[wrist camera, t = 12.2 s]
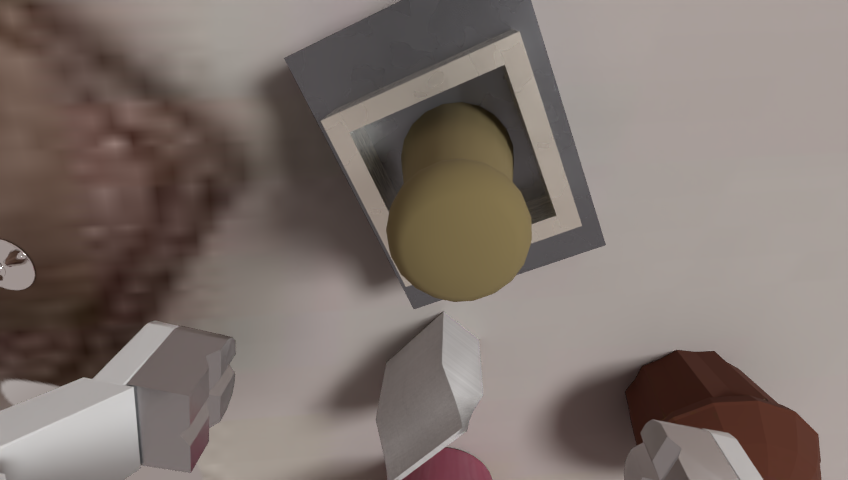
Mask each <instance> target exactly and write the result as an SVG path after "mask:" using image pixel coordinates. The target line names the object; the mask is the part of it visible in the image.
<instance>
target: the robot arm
mask: <svg viewBox="0 0 848 480" xmlns="http://www.w3.org/2000/svg"><path fill="white" fill-rule="evenodd" d="M235 354H236V351H235V339H234V338H233V337H230V336H225V335H221V334H216V333H212V332H207V331H203V330H198V329H194V328H189V327H184V326H177V325H173V324H168V323H164V322H159V321H152V322H149V323H147V324H146V325H145V326H144V327H143V328H142V329H141V330H140V331H139V332H138V333H137V334H136V335H135V336H134V337H133V338H132V339H131V340H130V341H129V342H128V343H127V344H126V345H125V346H124V347H123V348H122V349H121V350H120V351H119V352H118V353H117V354H116V355H115V356H114V357H113V358H112V359H111V360H110V361H109V362H108V363H107V364H106V365H105V366H104V367H103V369H102V370H101V371H100V372H99V373H98V374H97V375H96V376H95V377H94V378H93V379H89V378H84V377H83V378H81V379H78V380H76V381H73V382H71V383H68V384H66V385H63V386H61V387H58V388H56V389H54V390H51V391H49V392H46V393H44V394H41V395H39V396H36V397H34V398H31V399H29V400H26V401H24V402H21V403H19V404H16V405H14V406H11V407H9V408H6V409H4V410H1V411H0V480H125V479H126V478H127V477H129V476H130V475H132V474H133V473H135V472H136V471H137V470H139V469H140V468H141V465H143V466H149V467H156V468H162V469H169V470H175V471H182V472H188V473H191V472H192V470H193V468H194V466H195V465H196V463H197V461H198V459H199V458H200V456H201V454H202V452H203V451H204V449H205V447H206V445H207V444H208V442H209V428H210V427H212V426H214V425H215V424H217V423H219V422H220V421H221V419H222V417H223V415H224V413H225V411H226V410H227V407H228V404H229V401H230V399H231V396H232V392H233V387H234V381H235V372H234V370H233V369H232V367H231V366H230V365H229V364H230V362H231V361H232V359H233V357H234V356H235ZM641 436H642V439H643V443H641V444H639V445H637V446H635V447H634V448H632V449H631V450H630V452H629V454H628V456H627V458H626V460H625V468H624V480H763V478H762V477H761V475H760V474H759V472H758V471H757V469H756V468H755V466H754V465H753V463H752V462H751V460H750V459H749V457H748V456H747V454H746V453H745V451H744V450H743V448H742V447H741V445H740V444H739V442H738V441H737V439H736V438H735V437H733V436H732V435H731V434H729V433H726V432H721V431H715V430H709V429H704V428H703V429H700V428H696V427H691V426H685V425H680V424H675V423H669V422H664V421H659V420H654V419H652V420H650V421H649V422H647V423H646V424H645V426H644V427H643V429H642V431H641Z"/></svg>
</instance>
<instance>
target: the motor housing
mask: <svg viewBox="0 0 848 480" xmlns="http://www.w3.org/2000/svg"><path fill="white" fill-rule="evenodd" d="M284 59H285V61H286V63H287V65H288V67H289V69H290V71H291V72H292V74H293V76H294V78H295V80H296V82H297V84H298V86H299V88H300V90H301V92H302V94H303V96H304V98H305V100H306V101H307V103H308V105H309V107H310V109H311V111H312V113H313V115H314V117H315V119H316V121H317V123H318V125H319V127H320V129H321V130H322V132H323V134H324V136H325V138H326V140H327V142H328V144H329V146H330V148H331V150H332V152H333V154H334V156H335V158H336V160H337V161H338V163H339V165H340V167H341V169H342V171H343V173H344V175H345V177H346V179H347V181H348V183H349V185H350V187H351V189H352V190H353V192H354V194H355V196H356V198H357V200H358V202H359V204H360V206H361V208H362V210H363V212H364V214H365V216H366V218H367V219H368V221H369V223H370V225H371V227H372V229H373V231H374V233H375V235H376V237H377V239H378V241H379V243H380V245H381V247H382V248H383V250H384V252H385V254H386V256H387V258H388V260H389V262H390V264H391V266H392V268H393V270H394V272H395V274H396V276H397V278H398V279H399V281H400V283H401V285H402V287H403V289H404V291H405V293H406V295H407V297H408V299H409V301H410V303H411V305H412V307H413V308H414V309H416V308H419V307H422V306H425V305H428V304H431V303H434V302H437V301H440V300H443V299H438V298H434V297H432V296H430V295H428V294H426V293H424V292H422V291H420V290H419V289H417V288H415V287H414V286H413V285H412V284H411V283H410V282H409V281H408V280H406V279H405V278H404V277H403V276H402V275H401V274H400V272H399V270H398V268H397V266H396V265H395V263H394V261H393V259H392V257H391V254H390V251H389V245H388V239H387V233H386V227H387V222H388V216H389V211H390V207H391V205H392V203H393V201H394V199H395V197H396V195H397V194H398V192H399V190H400V188H401V187H402V185H403V184H404V182H403V172H402V162H401V154H402V149H403V143H404V139H405V137H406V135H407V134H408V132H409V130H410V128H411V126H412V124H413V123H414V122H416V121H417V120H418V119H419V118H420V117H421V116H422V115H423V114H424V113H425V112H427V111H429V110H431V109H433V108H435V107H437V106H440V105H442V104H448V103H457V102H464V103H468V104H473V105H478V106H480V107H482V108H484V109H486V110H487V111H489V112H491V113H492V114H494V115H495V116H496V117H497V118H498V119H499V120H500V122H501V123H502V124H503V125H504V126H505V127H506V129H507V131H508V133H509V136H510V139H511V141H512V144H513V154H514V169H513V183H514V184H515V185H516V187H517V188H518V189H519V190H520V191H521V193H522V195H523V198H524V200H525V203H526V205H527V208H528V210H529V213H530V215H531V223H532V240H531V245H530V248H529V251H528V254H527V257H526V260H525V263H524V265H523V266H522V268H521V269H520V270H519V272H518V273H517V274H516V275H518V274H521V273H524V272H527V271H530V270H533V269H536V268H539V267H542V266H545V265H548V264H551V263H554V262H557V261H560V260H563V259H565V258H568V257H571V256H574V255H577V254H580V253H583V252H586V251H589V250H592V249H595V248H598V247H601V246H604V245H606V244H605V241H604V238H603V234H602V231H601V228H600V225H599V221H598V218H597V215H596V211H595V208H594V205H593V202H592V198H591V195H590V192H589V189H588V185H587V182H586V179H585V176H584V172H583V169H582V166H581V162H580V159H579V156H578V153H577V149H576V146H575V143H574V140H573V136H572V133H571V130H570V126H569V123H568V120H567V117H566V113H565V110H564V107H563V104H562V100H561V97H560V94H559V91H558V87H557V84H556V81H555V77H554V74H553V71H552V68H551V64H550V61H549V58H548V55H547V51H546V48H545V45H544V41H543V38H542V35H541V32H540V28H539V25H538V22H537V19H536V15H535V12H534V9H533V6H532V2H531V0H401V1H399V2H397V3H395V4H393V5H391V6H389V7H387V8H385V9H383V10H381V11H379V12H377V13H375V14H373V15H371V16H369V17H367V18H365V19H363V20H361V21H359V22H357V23H355V24H353V25H351V26H349V27H347V28H345V29H343V30H341V31H338V32H336V33H334V34H332V35H330V36H328V37H326V38H324V39H322V40H320V41H318V42H316V43H314V44H312V45H310V46H308V47H306V48H304V49H302V50H300V51H298V52H296V53H294V54H292V55H290V56H288V57H286V58H284Z"/></svg>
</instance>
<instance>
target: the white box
mask: <svg viewBox="0 0 848 480" xmlns="http://www.w3.org/2000/svg"><path fill="white" fill-rule="evenodd" d="M482 396H483V384H482V371H481V358H480V345H479V339H478V338H477V337H476V336H474V335H473V334H472V333H471V332H469V331H468V330H467V329H466V328H464V327H463V326H462V325H460V324H459V323H458V322H457V321H455V320H454V319H453V318H452V317H450V316H449V315H448V314H446V313H445V312H444V311H443V312H442V313H441V314H440V315H439V316H438V317H437V318H436V319H434V320H433V321H432V322H431V323H430V324H429V325H428V326H427V327H426V328H424V329H423V330H422V331H421V332H420V333H419V334H418V335H417V336H416V337H414V338H413V339H412V340H411V341H410V342H409V343H408V344H407V345H405V346H404V347H403V348H402V349H401V350H400V351H399V352H398V353H397V354H395V355H394V356H393V357H392V358H391V359H390V360H389V361H388V362H387V363H386V368H385V373H384V378H383V383H382V389H381V394H380V399H379V404H378V410H377V415H376V423H377V427H378V432H379V436H380V440H381V445H382V449H383V453H384V458H385V464H386V470H387V480H402V479H403V478H405V477H406V476H407V475H409V474H410V473H411V472H413V471H414V470H415V469H417V468H418V467H419V466H421V465H422V464H423V463H425V462H426V461H427V460H429V459H430V458H431V457H433V456H434V455H435V454H437V453H438V452H439V451H441V450H442V449H443V448H445V447H446V446H448V445H449V444H450V443H452V442H453V441H454V440H456V439H457V438H458V437H460V436H461V435H462V434H464V433H465V432H466V431H467V429H468V423H469V420H470V418H471V415H472V413H473V411H474V409H475V408H476V406H477V404H478V403H479V401H480V399H481V398H482Z"/></svg>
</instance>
